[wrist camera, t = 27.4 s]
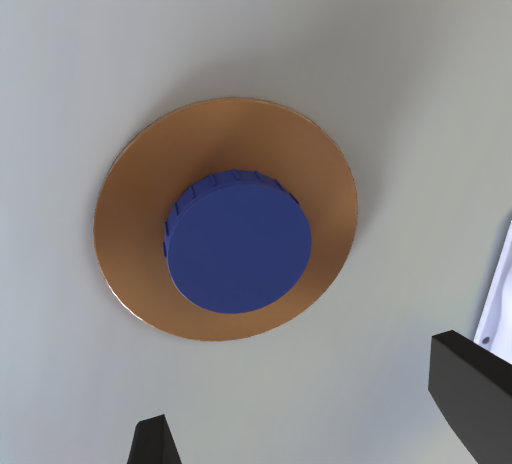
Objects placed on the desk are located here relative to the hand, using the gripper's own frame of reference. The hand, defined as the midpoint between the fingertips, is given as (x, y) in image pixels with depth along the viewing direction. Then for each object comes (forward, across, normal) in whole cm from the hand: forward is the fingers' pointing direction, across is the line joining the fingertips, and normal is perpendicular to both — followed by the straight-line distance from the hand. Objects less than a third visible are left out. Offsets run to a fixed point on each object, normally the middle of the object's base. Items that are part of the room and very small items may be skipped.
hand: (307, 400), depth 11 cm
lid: (+7, 0, -1) cm, 7 cm away
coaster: (+9, 0, -1) cm, 9 cm away
